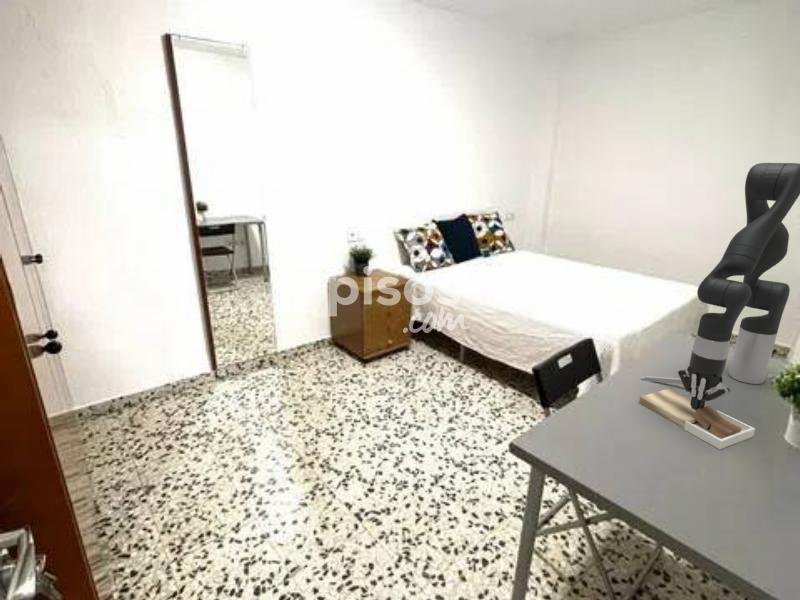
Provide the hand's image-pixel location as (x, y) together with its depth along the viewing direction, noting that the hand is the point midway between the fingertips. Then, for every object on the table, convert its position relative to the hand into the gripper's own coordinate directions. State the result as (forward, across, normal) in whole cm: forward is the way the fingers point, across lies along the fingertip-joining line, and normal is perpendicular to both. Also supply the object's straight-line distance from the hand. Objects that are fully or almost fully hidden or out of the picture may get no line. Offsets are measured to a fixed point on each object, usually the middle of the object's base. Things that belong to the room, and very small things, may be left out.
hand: (696, 409), depth 114 cm
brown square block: (+2, -3, 0) cm, 3 cm away
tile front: (+3, -8, 0) cm, 9 cm away
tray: (+4, -6, 0) cm, 7 cm away
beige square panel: (+4, +6, 0) cm, 7 cm away
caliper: (+4, +15, -13) cm, 20 cm away
